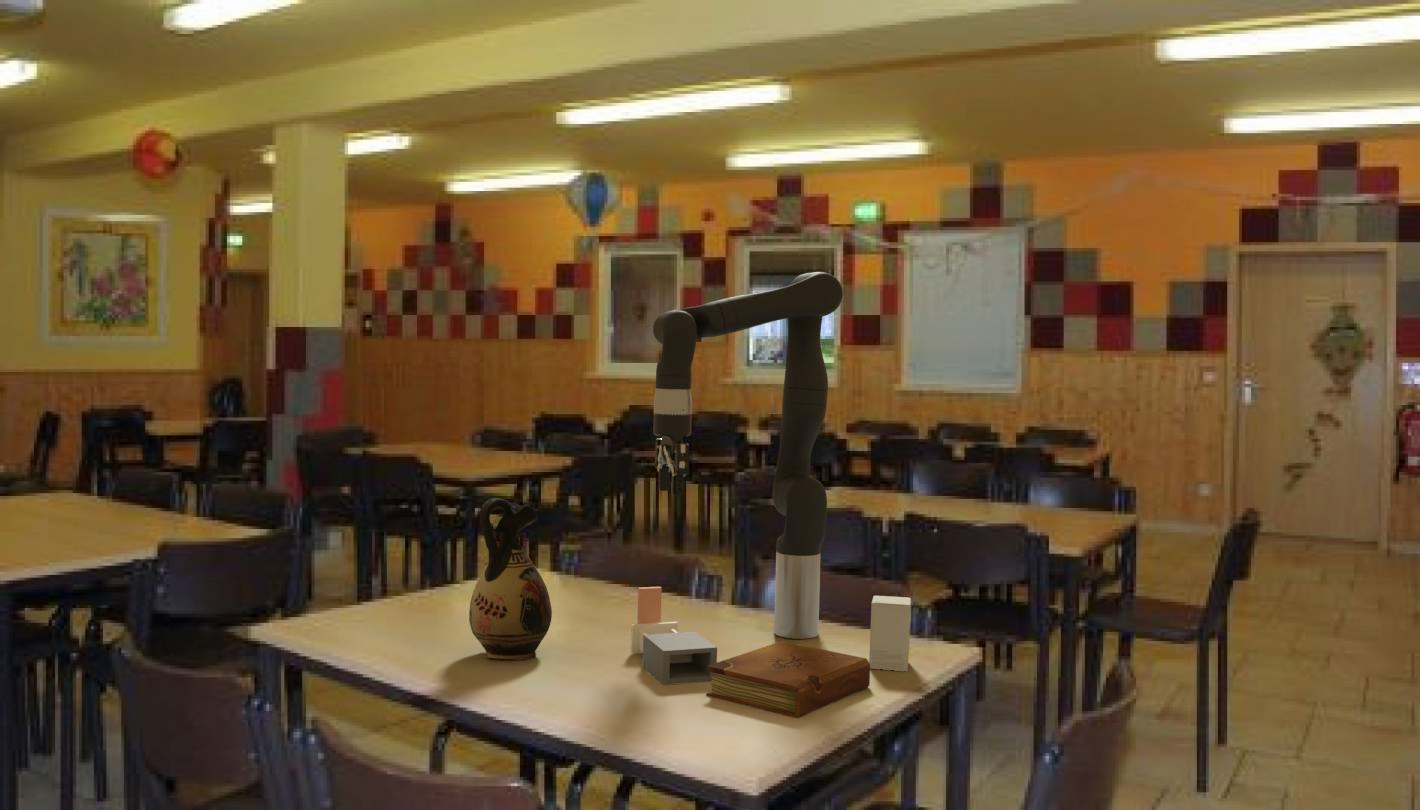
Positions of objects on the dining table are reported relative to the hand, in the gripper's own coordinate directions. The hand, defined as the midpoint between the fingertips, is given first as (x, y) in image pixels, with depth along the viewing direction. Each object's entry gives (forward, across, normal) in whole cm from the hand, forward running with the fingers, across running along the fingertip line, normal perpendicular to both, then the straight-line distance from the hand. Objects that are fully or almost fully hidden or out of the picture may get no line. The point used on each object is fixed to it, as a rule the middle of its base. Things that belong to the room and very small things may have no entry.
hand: (670, 493), depth 232 cm
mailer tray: (+30, -11, +5) cm, 32 cm away
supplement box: (+30, -27, -35) cm, 54 cm away
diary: (+31, -37, -10) cm, 49 cm away
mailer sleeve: (+30, -22, +5) cm, 38 cm away
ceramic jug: (+30, -1, +32) cm, 44 cm away
